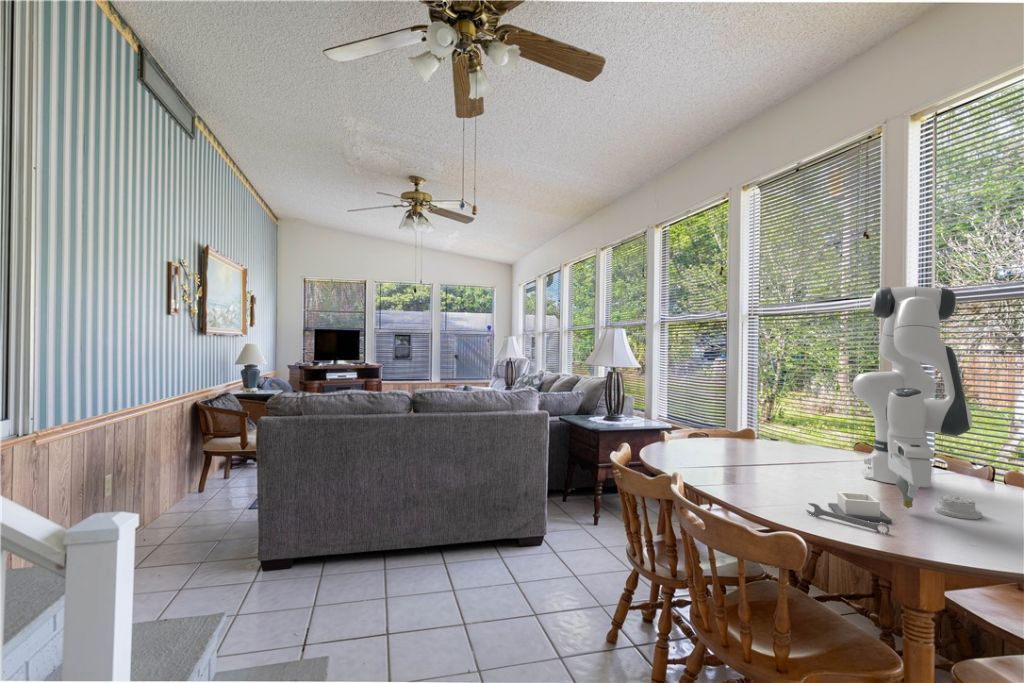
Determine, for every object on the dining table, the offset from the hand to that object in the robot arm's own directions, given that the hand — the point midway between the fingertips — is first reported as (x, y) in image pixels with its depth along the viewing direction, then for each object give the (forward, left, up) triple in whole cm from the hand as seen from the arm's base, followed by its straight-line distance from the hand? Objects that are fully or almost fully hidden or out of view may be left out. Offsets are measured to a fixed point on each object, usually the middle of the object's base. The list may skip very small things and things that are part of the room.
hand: (907, 494), depth 140 cm
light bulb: (0, 0, -4) cm, 4 cm away
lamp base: (+5, -13, -6) cm, 15 cm away
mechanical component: (-5, +13, -6) cm, 15 cm away
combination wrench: (+14, -19, -6) cm, 24 cm away
